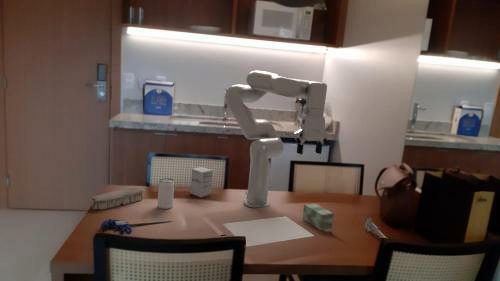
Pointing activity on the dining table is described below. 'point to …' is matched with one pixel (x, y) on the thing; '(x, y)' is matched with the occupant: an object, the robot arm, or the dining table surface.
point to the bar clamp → (122, 225)
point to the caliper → (373, 228)
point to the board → (267, 230)
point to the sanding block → (318, 217)
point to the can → (165, 193)
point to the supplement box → (201, 181)
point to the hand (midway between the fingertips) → (308, 153)
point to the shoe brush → (117, 198)
